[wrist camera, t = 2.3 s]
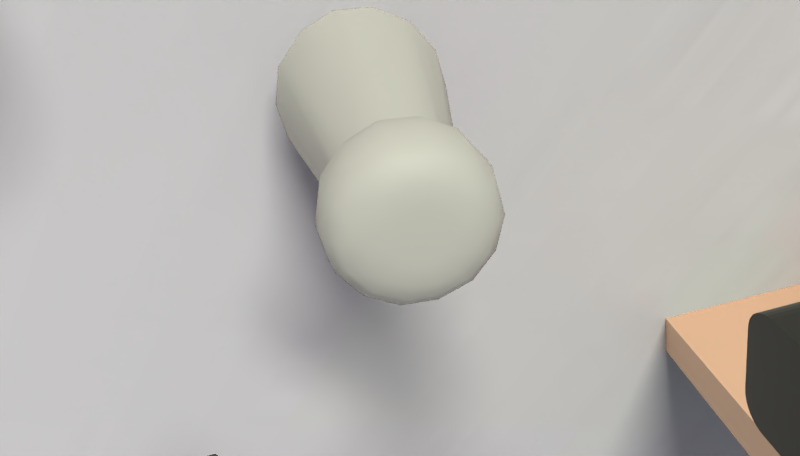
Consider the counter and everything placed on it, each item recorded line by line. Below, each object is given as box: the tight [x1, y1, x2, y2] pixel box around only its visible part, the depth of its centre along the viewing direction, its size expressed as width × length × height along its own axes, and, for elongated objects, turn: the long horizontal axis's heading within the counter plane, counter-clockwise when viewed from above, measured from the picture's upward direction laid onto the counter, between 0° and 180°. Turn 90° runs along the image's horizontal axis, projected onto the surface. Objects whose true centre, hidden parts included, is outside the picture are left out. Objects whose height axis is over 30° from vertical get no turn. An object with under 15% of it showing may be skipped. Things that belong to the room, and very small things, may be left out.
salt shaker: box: [276, 7, 505, 305], centre depth 21 cm, size 6×6×13 cm
